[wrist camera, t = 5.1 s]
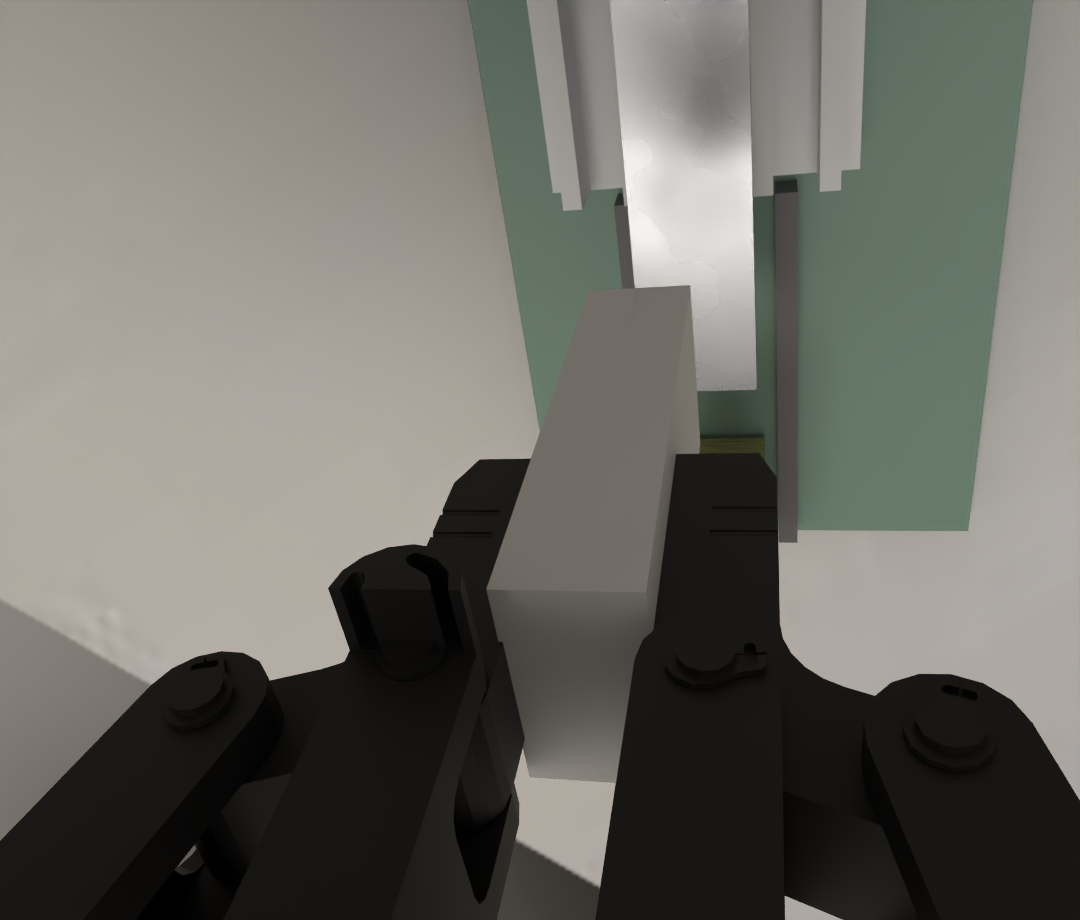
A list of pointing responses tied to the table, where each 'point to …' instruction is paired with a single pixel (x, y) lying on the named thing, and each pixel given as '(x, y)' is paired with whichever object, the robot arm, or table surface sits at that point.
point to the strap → (692, 169)
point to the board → (797, 231)
